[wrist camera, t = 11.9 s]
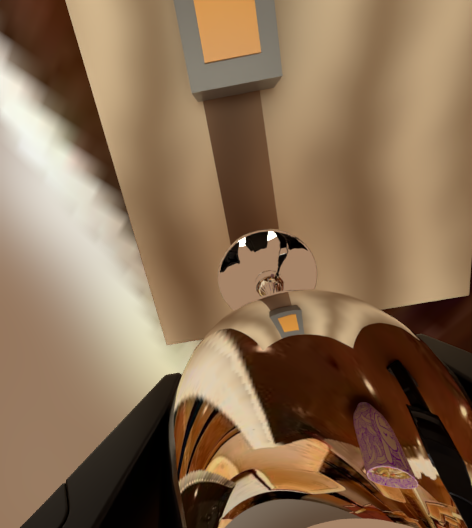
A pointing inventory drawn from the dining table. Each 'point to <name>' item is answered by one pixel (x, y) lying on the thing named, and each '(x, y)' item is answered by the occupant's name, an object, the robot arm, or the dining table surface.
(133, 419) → the robot arm
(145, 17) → the subfloor board
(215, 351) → the wineglass
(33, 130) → the dining table surface
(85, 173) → the dining table surface
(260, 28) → the block
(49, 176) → the dining table surface
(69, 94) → the dining table surface
